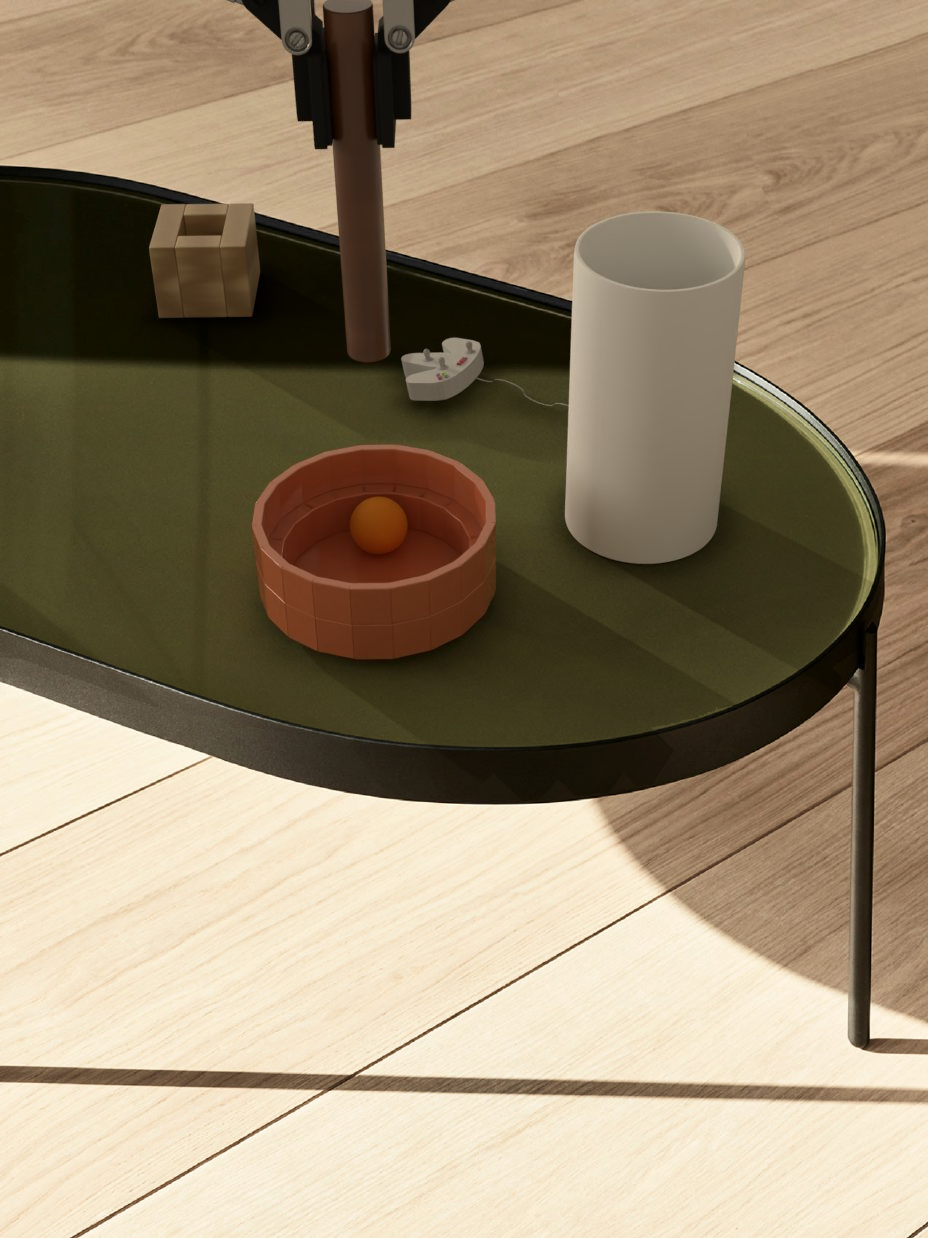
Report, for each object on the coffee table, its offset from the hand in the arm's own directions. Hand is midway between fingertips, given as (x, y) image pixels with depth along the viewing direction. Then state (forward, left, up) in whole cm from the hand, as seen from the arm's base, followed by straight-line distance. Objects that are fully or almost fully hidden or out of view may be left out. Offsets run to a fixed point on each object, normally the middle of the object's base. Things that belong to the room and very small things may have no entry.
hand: (356, 131), depth 70 cm
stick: (0, 0, -11) cm, 11 cm away
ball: (0, +3, -23) cm, 23 cm away
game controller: (+6, +18, -25) cm, 31 cm away
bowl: (0, 0, -25) cm, 25 cm away
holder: (-12, +31, -25) cm, 42 cm away
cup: (+14, +6, -25) cm, 29 cm away
